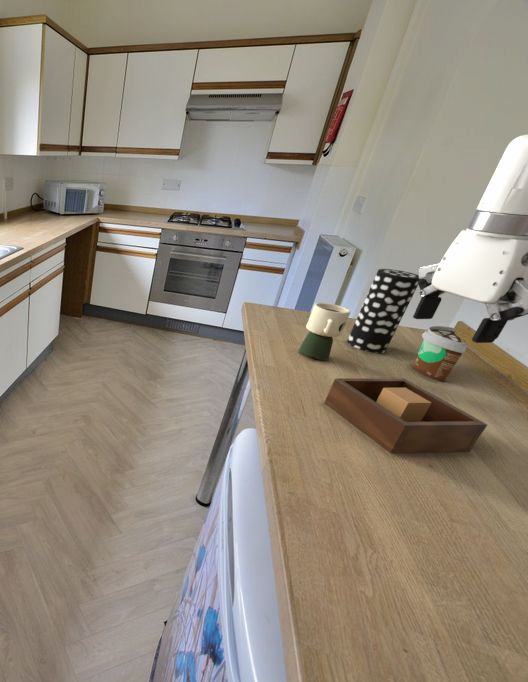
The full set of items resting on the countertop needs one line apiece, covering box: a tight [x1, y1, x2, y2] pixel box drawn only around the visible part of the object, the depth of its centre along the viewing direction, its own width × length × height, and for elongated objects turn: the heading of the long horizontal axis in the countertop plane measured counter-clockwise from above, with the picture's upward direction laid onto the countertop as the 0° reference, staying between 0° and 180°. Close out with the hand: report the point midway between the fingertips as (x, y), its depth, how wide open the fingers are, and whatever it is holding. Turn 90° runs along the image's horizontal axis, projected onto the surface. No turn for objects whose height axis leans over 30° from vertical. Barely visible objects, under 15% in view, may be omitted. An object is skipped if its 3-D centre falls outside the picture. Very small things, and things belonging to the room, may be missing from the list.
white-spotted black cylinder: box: [346, 268, 419, 354], centre depth 105 cm, size 8×8×20 cm
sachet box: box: [376, 388, 431, 422], centre depth 75 cm, size 4×5×6 cm
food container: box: [412, 325, 469, 383], centre depth 96 cm, size 12×6×10 cm, turn 144°
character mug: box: [298, 302, 351, 361], centre depth 100 cm, size 11×7×13 cm, turn 150°
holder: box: [324, 377, 488, 454], centre depth 75 cm, size 15×15×6 cm
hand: (450, 329), depth 69 cm, fingers open, 9 cm apart
